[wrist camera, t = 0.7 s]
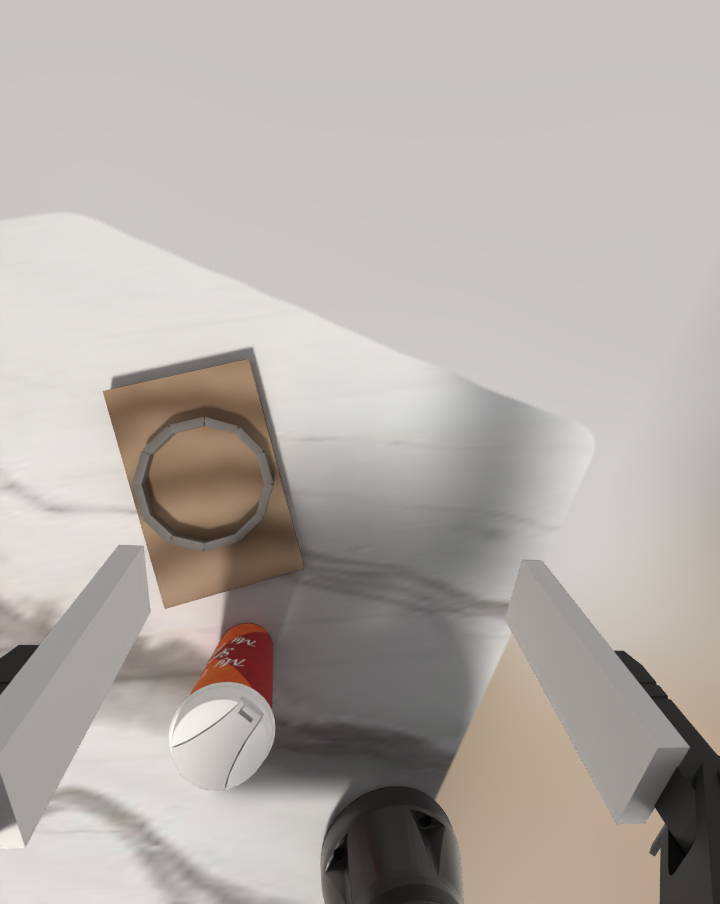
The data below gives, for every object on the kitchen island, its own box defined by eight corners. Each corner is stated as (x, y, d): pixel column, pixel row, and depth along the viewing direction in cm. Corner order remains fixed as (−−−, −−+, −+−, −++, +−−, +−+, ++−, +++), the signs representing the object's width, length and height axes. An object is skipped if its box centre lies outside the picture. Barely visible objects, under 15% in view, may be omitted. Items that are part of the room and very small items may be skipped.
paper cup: (244, 597, 43) (216, 671, 30) (298, 643, 44) (296, 736, 30) (191, 655, 43) (137, 757, 29) (247, 700, 44) (221, 821, 30)
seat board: (303, 564, 44) (303, 572, 42) (169, 603, 42) (160, 613, 40) (250, 361, 43) (246, 356, 40) (109, 392, 41) (96, 389, 38)
